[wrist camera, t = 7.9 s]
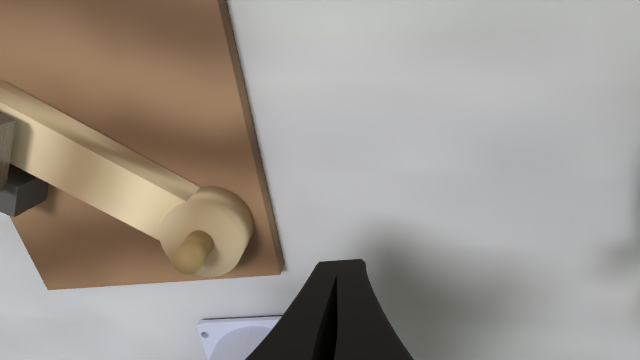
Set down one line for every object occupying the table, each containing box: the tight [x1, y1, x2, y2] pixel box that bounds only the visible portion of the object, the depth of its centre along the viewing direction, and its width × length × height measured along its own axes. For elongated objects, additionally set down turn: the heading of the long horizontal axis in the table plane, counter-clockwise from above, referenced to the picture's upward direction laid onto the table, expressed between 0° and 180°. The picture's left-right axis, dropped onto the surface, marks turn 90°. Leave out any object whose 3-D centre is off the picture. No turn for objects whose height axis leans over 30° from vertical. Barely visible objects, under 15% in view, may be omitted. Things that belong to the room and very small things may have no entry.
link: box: [0, 80, 254, 277], centre depth 19 cm, size 15×4×4 cm, turn 60°
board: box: [0, 0, 284, 290], centre depth 21 cm, size 18×16×1 cm
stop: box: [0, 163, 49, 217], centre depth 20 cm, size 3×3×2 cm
